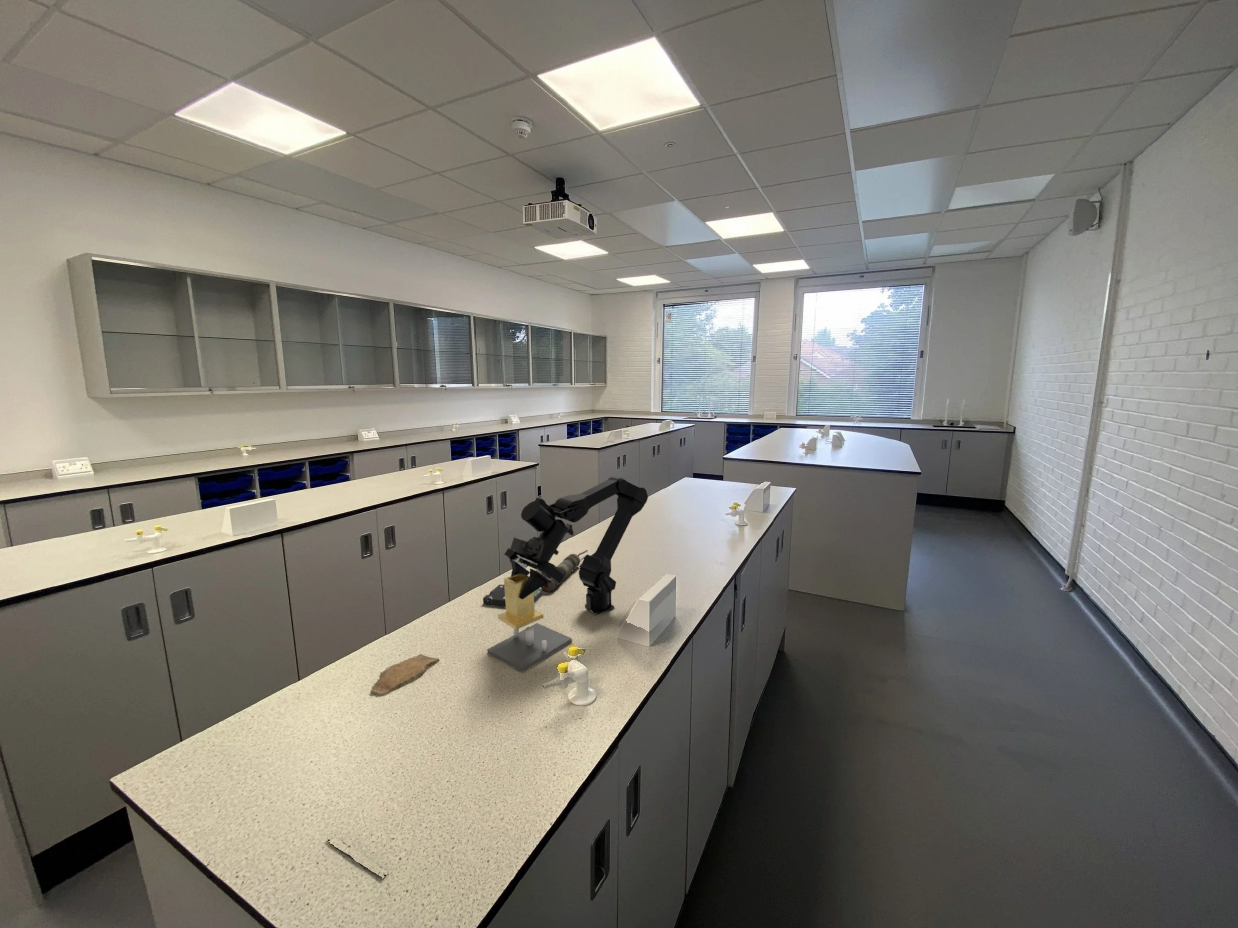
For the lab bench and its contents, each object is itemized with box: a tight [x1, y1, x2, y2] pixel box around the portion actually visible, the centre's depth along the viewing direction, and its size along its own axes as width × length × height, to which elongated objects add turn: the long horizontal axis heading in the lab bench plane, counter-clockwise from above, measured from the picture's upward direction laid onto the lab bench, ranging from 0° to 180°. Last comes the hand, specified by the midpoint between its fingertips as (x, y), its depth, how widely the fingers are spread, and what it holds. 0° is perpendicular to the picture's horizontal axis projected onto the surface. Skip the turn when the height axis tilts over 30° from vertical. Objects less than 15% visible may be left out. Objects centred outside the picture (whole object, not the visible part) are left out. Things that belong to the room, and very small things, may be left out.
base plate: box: [486, 622, 573, 673], centre depth 118 cm, size 16×13×5 cm
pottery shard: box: [370, 653, 440, 696], centre depth 108 cm, size 8×16×2 cm, turn 143°
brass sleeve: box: [497, 573, 544, 630], centre depth 118 cm, size 8×8×10 cm
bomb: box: [540, 549, 589, 593], centre depth 165 cm, size 5×34×5 cm, turn 162°
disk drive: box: [482, 584, 543, 608], centre depth 145 cm, size 10×3×15 cm
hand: (514, 595), depth 117 cm, fingers closed on brass sleeve, 5 cm apart
